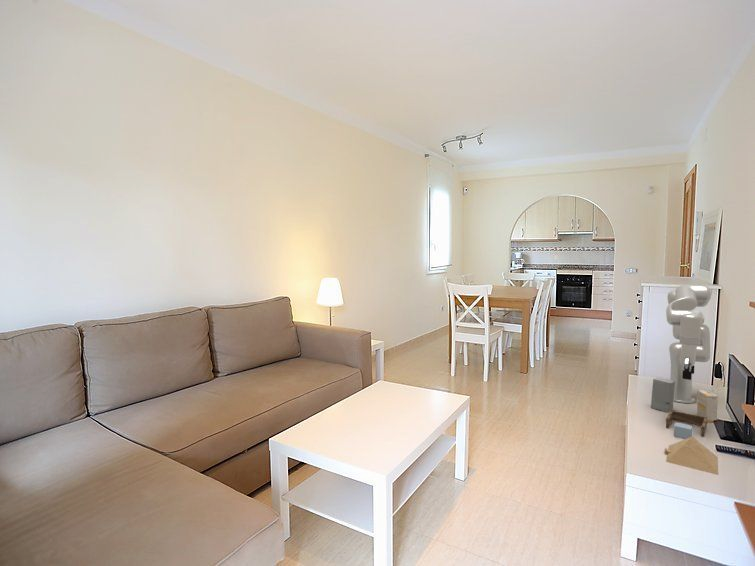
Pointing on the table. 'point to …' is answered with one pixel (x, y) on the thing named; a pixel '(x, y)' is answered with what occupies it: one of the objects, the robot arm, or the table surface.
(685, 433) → the grey block
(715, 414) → the supplement box
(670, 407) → the skincare box
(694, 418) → the walnut open-sided box
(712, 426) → the table surface
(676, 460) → the model pyramid
